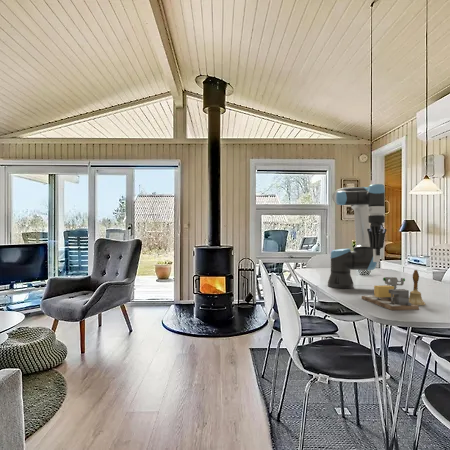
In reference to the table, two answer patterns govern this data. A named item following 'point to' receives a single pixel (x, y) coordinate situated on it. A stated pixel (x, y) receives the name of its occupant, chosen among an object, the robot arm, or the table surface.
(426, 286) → the table surface
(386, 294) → the block
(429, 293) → the table surface
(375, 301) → the board
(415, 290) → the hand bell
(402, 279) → the mechanical component
